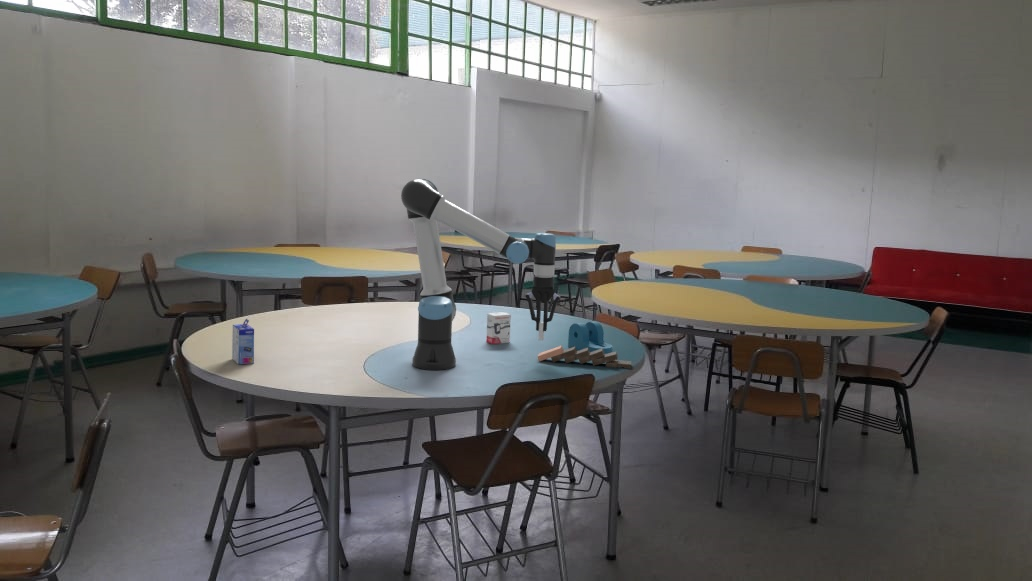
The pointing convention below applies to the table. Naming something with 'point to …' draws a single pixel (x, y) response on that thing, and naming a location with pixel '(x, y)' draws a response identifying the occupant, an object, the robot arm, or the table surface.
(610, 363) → the tile
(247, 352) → the ink cartridge box
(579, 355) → the tile
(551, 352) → the tile
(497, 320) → the ink box
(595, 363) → the tile
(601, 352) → the tile
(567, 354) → the tile
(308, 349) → the table surface
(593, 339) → the camera mount
